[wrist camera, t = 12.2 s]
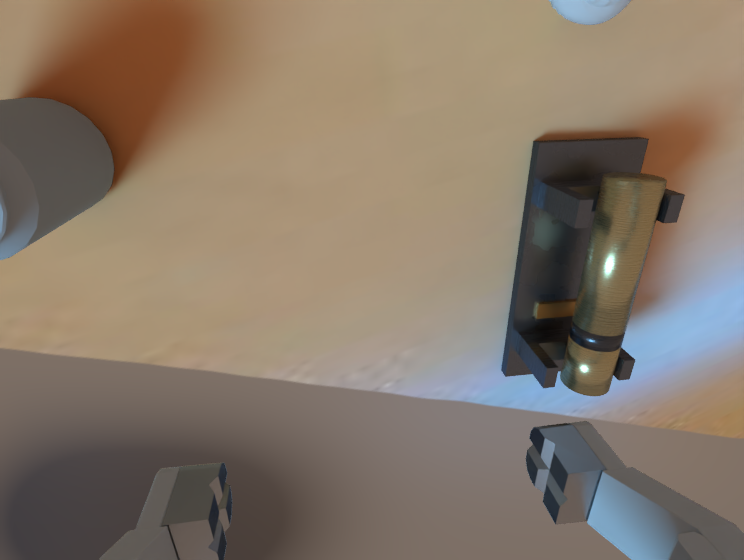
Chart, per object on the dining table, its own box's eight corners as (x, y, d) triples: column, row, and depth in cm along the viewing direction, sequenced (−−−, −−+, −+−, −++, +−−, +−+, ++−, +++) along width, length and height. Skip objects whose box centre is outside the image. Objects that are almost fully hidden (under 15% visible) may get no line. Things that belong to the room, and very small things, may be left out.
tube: (591, 177, 31) (649, 187, 28) (620, 169, 33) (677, 179, 30) (550, 377, 39) (593, 402, 36) (576, 362, 41) (618, 384, 38)
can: (97, 91, 29) (-28, 103, 18) (133, 202, 32) (45, 267, 21) (-24, 101, 28) (-229, 120, 17) (26, 213, 31) (-121, 287, 21)
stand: (533, 140, 34) (580, 155, 28) (640, 137, 35) (706, 150, 29) (501, 370, 43) (531, 416, 38) (585, 362, 44) (627, 405, 39)
